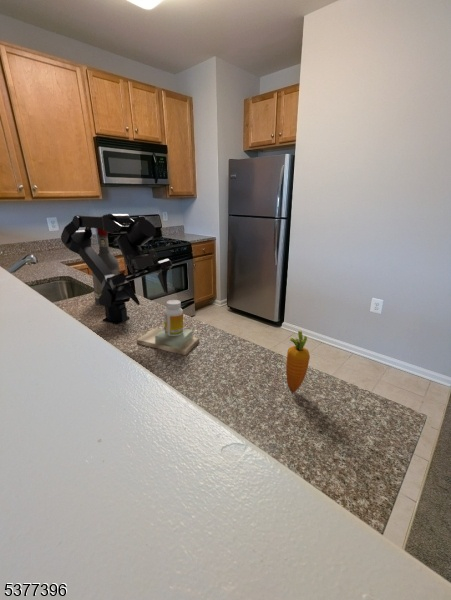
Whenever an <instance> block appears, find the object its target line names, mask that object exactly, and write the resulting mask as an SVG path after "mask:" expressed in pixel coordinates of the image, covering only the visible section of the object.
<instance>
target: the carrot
mask: <svg viewBox="0 0 451 600" xmlns="http://www.w3.org/2000/svg"><path fill="white" fill-rule="evenodd" d="M297 336H298V338H297V337H296V338H292V337H291V338H290V339H289V341H291V342H292V343H293V344H294V345H293V346H290V347H288V349H287V353H286V354H287V355H286V365H285V369H286V370H285V371H286V372H285V374H286V382H287V387H288V390H289V391H290V392H291V393H296V391H297V390H298V389H299V388H300V387H301V385H302V384H303V382H304V380H305V377H306V374H307V371H308V367H309V364H310V363H309V362H310V358H311V357H310V352H309V350H308V349H307V348H305V345H306V343H307V340H308V336H307V335H304V337H303V332H302V331H301V330H299V331H297Z"/></svg>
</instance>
